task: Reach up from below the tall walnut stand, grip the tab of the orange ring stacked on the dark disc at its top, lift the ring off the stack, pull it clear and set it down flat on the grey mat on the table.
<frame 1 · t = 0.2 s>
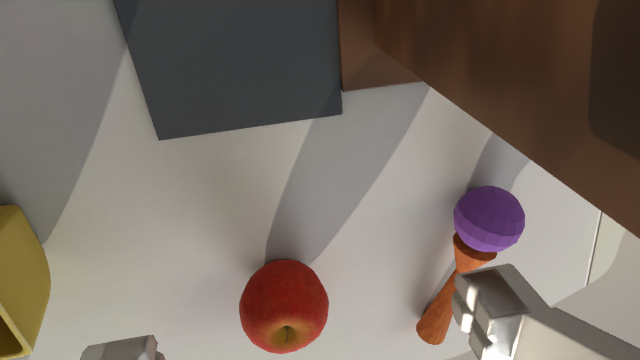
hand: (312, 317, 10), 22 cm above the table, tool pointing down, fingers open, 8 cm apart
kendama: (448, 255, 42), on the table
apple: (279, 272, 39), on the table
flower pot: (1, 230, 31), on the table
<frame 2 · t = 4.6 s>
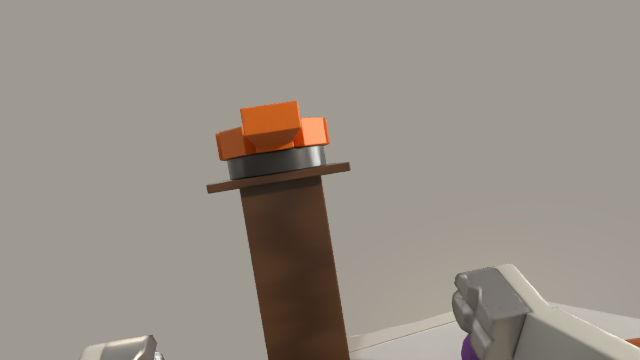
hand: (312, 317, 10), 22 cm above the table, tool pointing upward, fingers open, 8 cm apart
orange ring: (275, 152, 31), point 28 cm above the table, touching stand
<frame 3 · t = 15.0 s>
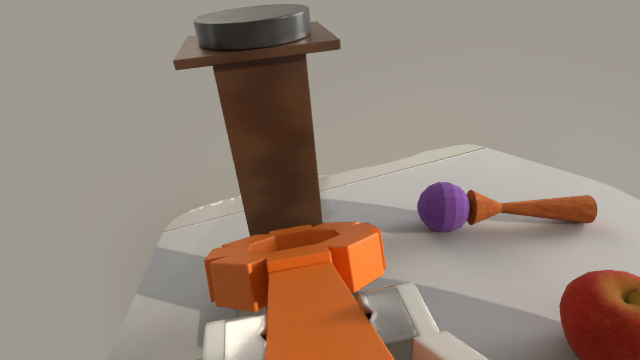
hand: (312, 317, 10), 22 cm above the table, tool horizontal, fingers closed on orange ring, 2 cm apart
stand: (298, 303, 40), on the table
kendama: (499, 225, 48), on the table
orange ring: (299, 278, 20), point 17 cm above the table, tilted 29°, touching gripper
apple: (602, 356, 33), on the table
when the fingers open (8 cm above the table, at t = 19.3 s): orange ring drops 2 cm, resting on mat.
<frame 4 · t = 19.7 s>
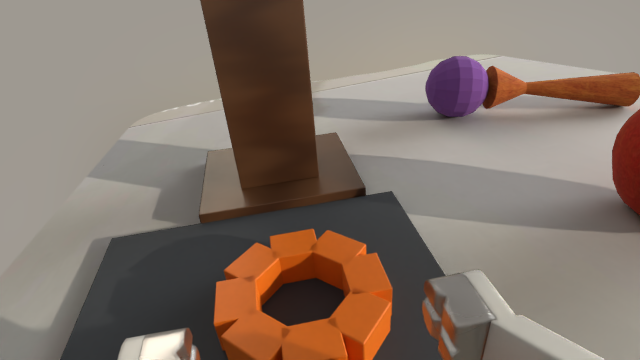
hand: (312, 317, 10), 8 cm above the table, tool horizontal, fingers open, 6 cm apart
stand: (279, 179, 33), on the table
kendama: (522, 112, 41), on the table
orange ring: (305, 312, 20), resting on mat
mat: (264, 291, 22), on the table
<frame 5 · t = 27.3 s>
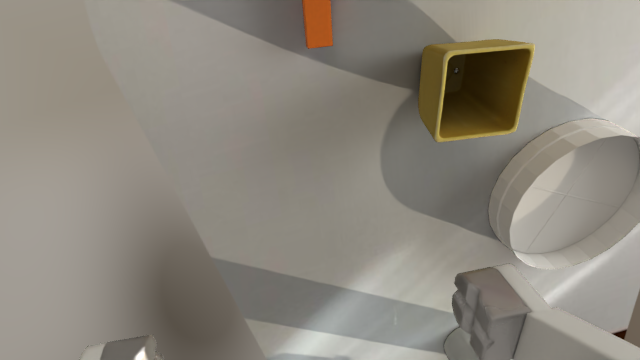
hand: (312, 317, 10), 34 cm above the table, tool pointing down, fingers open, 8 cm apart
dish: (558, 188, 57), on the table
vase: (468, 337, 72), on the table
flower pot: (440, 69, 44), on the table
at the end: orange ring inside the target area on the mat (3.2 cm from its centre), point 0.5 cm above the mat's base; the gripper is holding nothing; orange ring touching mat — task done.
